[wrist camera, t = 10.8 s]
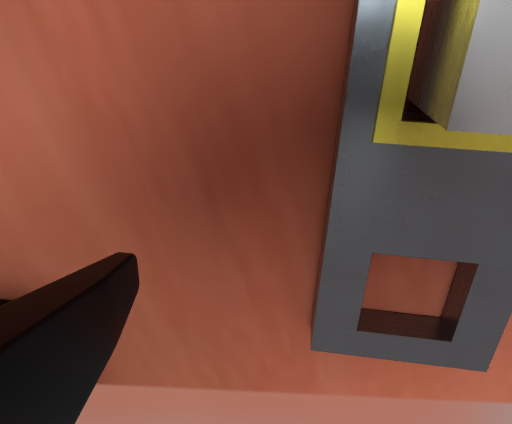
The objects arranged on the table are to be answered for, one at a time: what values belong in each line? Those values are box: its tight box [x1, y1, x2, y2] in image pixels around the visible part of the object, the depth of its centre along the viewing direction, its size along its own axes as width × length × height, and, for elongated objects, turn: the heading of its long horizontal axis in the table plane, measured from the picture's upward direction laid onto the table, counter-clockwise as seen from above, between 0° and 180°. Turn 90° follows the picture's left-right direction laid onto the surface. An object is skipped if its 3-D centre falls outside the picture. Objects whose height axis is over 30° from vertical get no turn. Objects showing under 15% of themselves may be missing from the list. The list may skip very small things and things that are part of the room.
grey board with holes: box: [311, 0, 512, 372], centre depth 19 cm, size 10×21×2 cm, turn 177°
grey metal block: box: [407, 0, 512, 135], centre depth 15 cm, size 4×4×6 cm
